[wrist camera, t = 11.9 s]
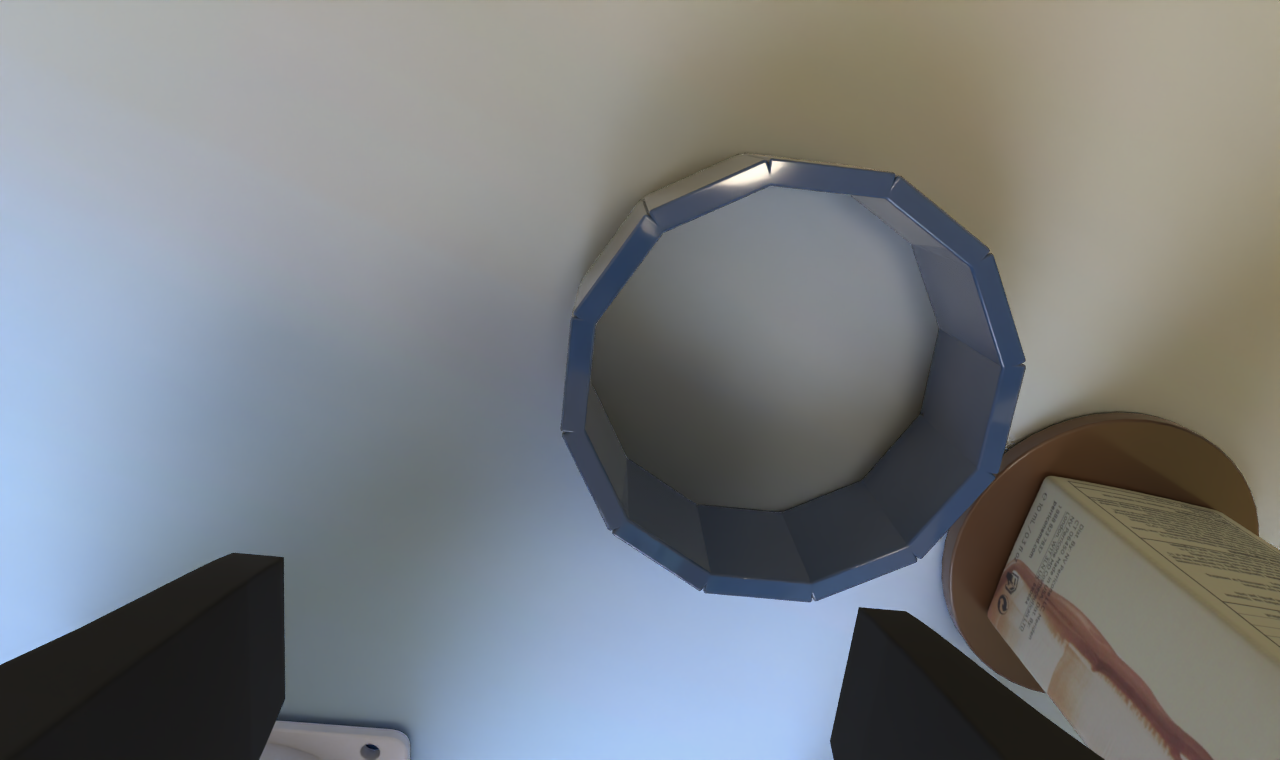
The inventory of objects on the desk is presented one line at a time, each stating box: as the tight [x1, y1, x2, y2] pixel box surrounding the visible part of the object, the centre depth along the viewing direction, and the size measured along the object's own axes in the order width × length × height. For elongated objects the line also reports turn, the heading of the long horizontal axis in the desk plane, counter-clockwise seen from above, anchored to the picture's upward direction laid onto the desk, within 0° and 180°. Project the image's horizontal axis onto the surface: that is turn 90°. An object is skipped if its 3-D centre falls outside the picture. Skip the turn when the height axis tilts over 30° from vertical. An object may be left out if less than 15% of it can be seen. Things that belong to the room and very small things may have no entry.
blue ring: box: [561, 153, 1026, 602], centre depth 19 cm, size 9×9×4 cm
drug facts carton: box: [988, 476, 1280, 760], centre depth 17 cm, size 5×4×10 cm
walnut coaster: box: [942, 412, 1259, 693], centre depth 22 cm, size 8×8×1 cm
